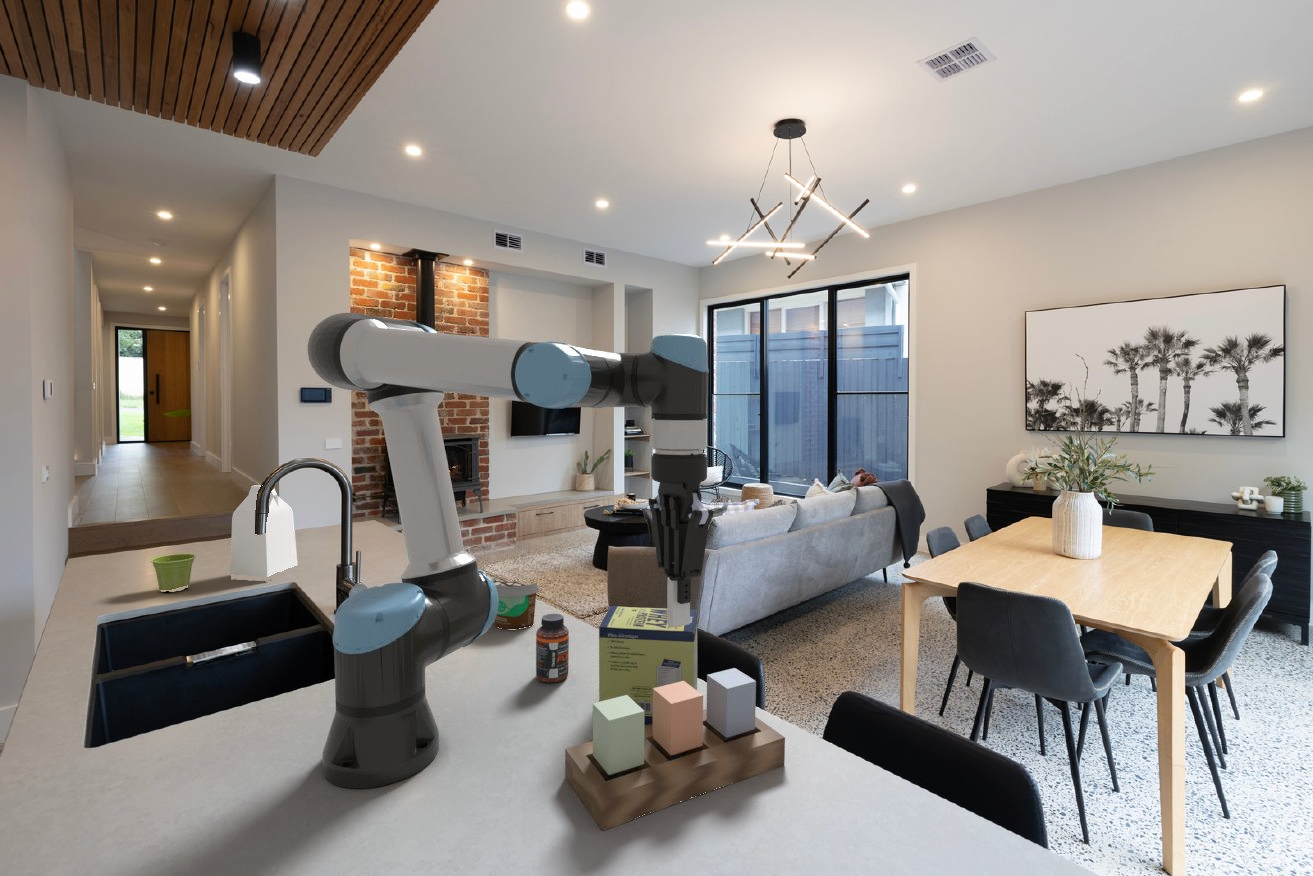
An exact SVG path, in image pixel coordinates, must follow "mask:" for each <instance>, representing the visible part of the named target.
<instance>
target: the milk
mask: <svg viewBox="0 0 1313 876" xmlns="http://www.w3.org/2000/svg"><path fill="white" fill-rule="evenodd" d="M260 487H261V485H258V484H257V485H251V487H250V490H249V492H248V495H247V496H246V497H245V499H244V500H243V501H242V502H241V503H240V504H239V505H238V507H237V508H236V509H235V510H234V511H233V513H232V518H231V541H230V542H231V543H230V567H229V568H230V572H229V574H235V575H248V576H260V577H269V576H271V575H273V574H275V573H277V572H282V571H284V570H286V569H288V568H292V567H294V566H297V565H299V564H298V555H297V554H298V553H297V541H296V532H295V531H296V530H295V519H294V511H293V509H292V507H291V506H290V505H289V504H288V503H287V502H286V501H285V500H283V499H282V498H281V497H280V496H278V494H277V491H276V488H274V489H273V490H272V491H271V493H270V499H269V513H268V517H267V522H266V533H264V534H263V535H261V536H259V535H257V534H255V510H256V500H257V494H258V490H259V489H260Z"/></svg>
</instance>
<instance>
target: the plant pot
mask: <svg viewBox="0 0 1313 876" xmlns="http://www.w3.org/2000/svg"><path fill="white" fill-rule="evenodd" d="M195 558H197V554H193V553H177V554H166V555H161V556H157V557H154V558H152V559H150V562H151V563H152V566H153V568H154V571H155V574H156V579H157V584H158V589H160V590H172V589H176V588H179V587H183V586H187V585H188V584H189V585H190V581H191V573H192V567H193V564H194V560H195ZM160 590H159V591H160Z"/></svg>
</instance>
